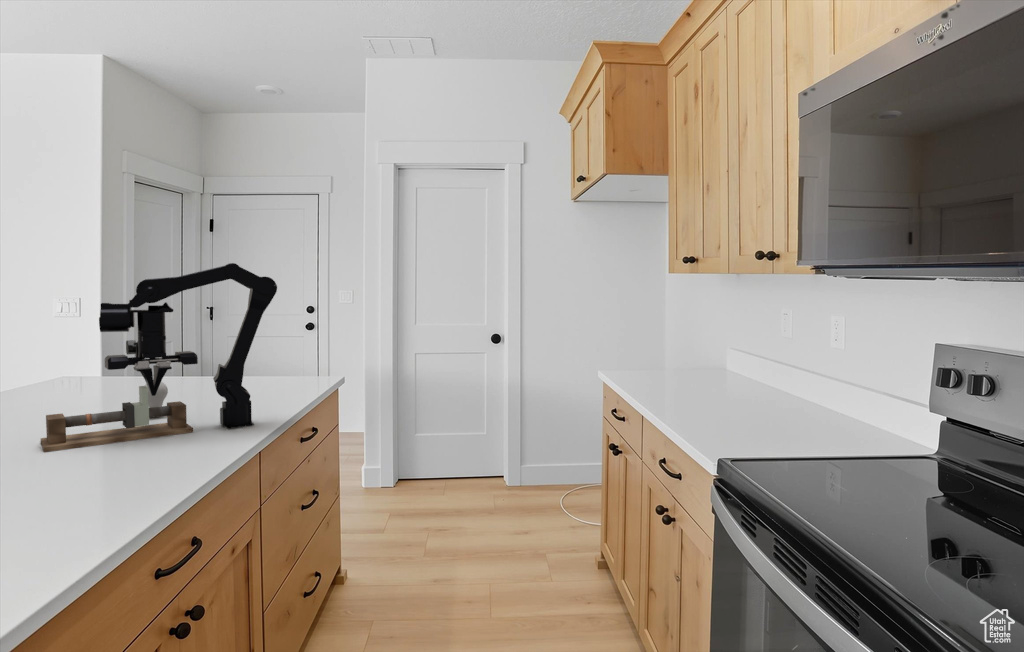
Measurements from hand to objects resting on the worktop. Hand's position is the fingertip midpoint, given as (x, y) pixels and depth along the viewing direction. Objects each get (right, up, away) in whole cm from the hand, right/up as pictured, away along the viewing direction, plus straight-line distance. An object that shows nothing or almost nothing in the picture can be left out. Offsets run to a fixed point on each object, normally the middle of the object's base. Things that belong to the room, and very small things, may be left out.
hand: (153, 395), depth 147 cm
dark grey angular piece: (-4, -7, -3) cm, 9 cm away
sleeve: (-2, -7, -2) cm, 7 cm away
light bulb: (-10, -8, +17) cm, 22 cm away
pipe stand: (-5, -9, -4) cm, 11 cm away
